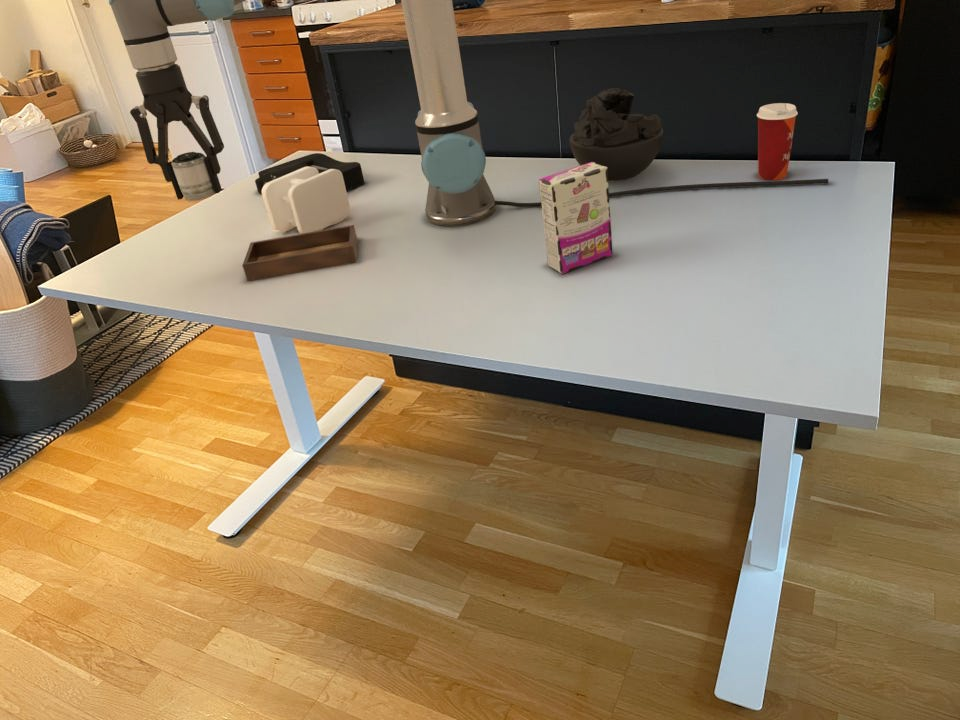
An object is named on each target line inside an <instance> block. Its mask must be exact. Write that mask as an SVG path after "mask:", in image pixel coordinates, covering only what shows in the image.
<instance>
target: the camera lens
mask: <svg viewBox="0 0 960 720" xmlns="http://www.w3.org/2000/svg"><path fill="white" fill-rule="evenodd" d="M206 156H207V155H206V154H205V153H204V154H203V152H196V151H188V152H184V153H180V154H178V155H177V156H175V157H174V158H173V159H172V160H171V161H172V163H171V165H172V167H173V170H174V173H175V176H176V179H177V182H178V184H179V187H180V190H181V192H182V194H183V196H184V197H183V198H184V200H185V201H188V202H195V201H196V202H197V201H201V200H206V199H209V198H210V197H212V196H214V195H215V194H216V193H215V192H214V189H213V186H212V183H211V180H210V177H209V174H208V170H207V167H206V164H205V161H204V159H205V157H206Z"/></svg>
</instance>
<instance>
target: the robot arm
mask: <svg viewBox="0 0 960 720" xmlns="http://www.w3.org/2000/svg"><path fill="white" fill-rule="evenodd" d="M245 1H247V0H108V4H109V6H110V8H111V10H112V11H111V12H112V14H113V16H114V19H115V21H116V24H117V26H118V29H119V32H120V34H121V37H122V39H123V43H124V46H125V50H126V52H127V55H128V58H129V61H130V64H131V67H132V69H134V70H137V71H136V74H135V77H136V80H137V83H138V86H139V88H140V92H141V94H142V97H143V100H142V101H143V102H142V104H141V105H139V106H138V105H136V106H134V107H133V108H132V109H130V111H129V114H130V115H131V117H132V118H133V120H134V122H135V123H136V126H137V129H138V133H139V136H140V139H141V144H142V147H143V150H144V154H145V157H146V161H147V163H148V164H150V165H153V164H154V165H158V166H159V167H160V168H161V172H162V174H163V177H164V180H165V182H166V183H170V182H171V184H172V187H173V189H174V192H175V196H176V198H177V200H178V201H179V200H182V199H184V198H185V197H184V196H183V194H182V192H181V190H180V187H179V184H178V182H177V179H176V176H175V173H174V170H173V167H172V165H171V163H172V160H171V161H170V158H169V124H170V123H172V122H181V123H182V125H184V126H185V127H186V128H187V130H188V131H189V132H190V134H191V135H192V137H193V138H194V139H195V141H196V143H197V144H198V145H199V147H200V148H201V150H202V151H203V152H204V155H205V156H206V157H205V159H204V161H205V164H206V167H207V170H208V174H209V177H210V180H211V183H212V186H213V189H214V192H215V194H220V193H221V191H222V186H221V182H220V179H219V176H218V175H219V174H220V173H221V165H220V162H219V159H218V156H217V155H218V154H220V153H222V152H223V150H224V148H225V145H224V142H223V139H222V137H221V134H220V132H219V130H218V127H217V125H216V122H215V119H214V116H213V114H212V112H211V109H210V98H209V96H208V95H206V94H205V95H202V96H199V95H193V94H192V93H191V92H190V91H189V89H188V87H187V84H186V80H185V78H184V75H183V72H182V68H181V66H180V65H179V64H178V63H176V62H177V61H178V56H177V54H176V50H175V48H174V45H173V44H174V43H173V40H172V38H171V35H170V32H169V30H168V28H169V27H175V26H178V25H185V24H186V25H187V24H193V23H194V24H195V23H200V22H208V21H211V22H215V21H217V20H221V19H225V18H229V17H232V15H233V14H234V12H235V6H238V5H239V4H242V3H243V2H245ZM400 1H401V8H402V13H403V18H404V23H405V24H404V25H405V30H406V34H407V39H408V45H409V51H410V57H411V61H412V67H413V73H414V78H415V84H416V88H417V95H418V100H419V106H420V110H419V111H418V112H417V117H416V119H415V121H414V124H415V129H416V134H417V141H418V145H419V150H420V157H421V160H420V161H421V162H420V166H421V172H422V174H423V176H424V177H425V179H426V180H427V182H428V186H427V187H428V188H427V194H426V200H425V201H426V202H425V208H424V212H425V217H426V220H427V222H429V223H430V224H433V225H435V226H440V227H441V226H442V227H459V226H460V227H461V226H466V225H472V224H474V223H478V222H481V221H483V220H485V219H487V218H489V217H491V216H492V215H493V214H494V213H495V212H496V209H497V206H509V207H516V208H536V207H537V208H538V207H542V205H541V201H539V202H515V201H505V200H496V197H495V195H494V194H493V192H492V190H491V187H490V186H489V183H488V181H487V180H486V177H485V175H484V172H485V169H486V164H487V158H486V153H485V151H484V149H483V143H482V137H481V128H480V123H479V117H478V116H479V115H478V110H477V109H475V106H474V104H473V103H472V102H470V101H468V98H467V97H468V96H467V91H466V90H467V89H466V84H465V78H464V71H463V63H462V57H461V51H460V50H461V49H460V44H459V37H458V32H457V30H458V29H457V25H456V17H455V11H454V4H453V0H400ZM192 104H194V105H195V108H196V109H197V110H199V113H200V116H201V118H202V121H203V123H204V126H205V128H206V131H207V134H208V136H209V138H210V140H209V139H208V137H207V136H206V134H205V133H204V131H203V130H202V128H201V127H200V125H199V124H198V123H197V121H196V120H195V118H194V115H193V114H192V113H191V111H190V109H191V106H192ZM147 112H148V113H150V114H151V115H152V116H154V117H155V118H156V128H157V150H156V147H155V143H154V140H153V136H152V133H151V129H150V124H149V121H148V118H147V117H148V113H147ZM210 141H211V142H210ZM815 184H816V185H817V184H829V178H815V179H813V178H812V179H795V180H793V179H792V180H764V181H741V182H739V181H738V182H716V183H715V182H713V183H697V184H682V185H681V184H680V185H669V186H657V187H646V188H638V189H637V188H636V189H629V190H628V189H627V190H621V191H614V192H609V198H612V197H619V196H620V197H621V196H628V195H629V196H630V195H636V194H637V195H638V194H645V193H655V192H657V193H658V192H667V191H679V190H680V191H681V190H693V189H695V190H697V189H713V188H738V187H740V188H741V187H763V186H764V187H767V186H768V187H769V186H772V187H773V186H795V185H796V186H797V185H815Z"/></svg>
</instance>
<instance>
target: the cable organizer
mask: <svg viewBox="0 0 960 720" xmlns="http://www.w3.org/2000/svg"><path fill="white" fill-rule="evenodd" d="M261 196H262V200H263V203H264V206H265V209H266V214H267V216H268V219H269V222H270V227H271V228H272V229H273V230H274V231H277V232H279V231H280V232H285V231H286V232H289V231H291V230H293V229H295V228H297V231H298V233H299V234H303V233H309V232H315V231H320V230H324V229H325V228H327V227H329V226H333V225H334V226H335V225H337V224H339V223H341V222H343V221H344V220H345V218H347V217H348V216H349V214H350V212H351V205H350V200H349V195H348V191H346V188H345V183H344V179H343V175H342V173H341V171H339V170H337V169H329V170H327V171H324V172H322V173H320V174H319V172H318V170H317V169H316V168H314V167H303V168H301V169H299V170H296V171H294V172H291V173H289V174H287V175H284V176H282V177H280V178H277V179H275V180H272V181H270V182H268V183H266V184H265V185H264V186H263V188H262V194H261Z"/></svg>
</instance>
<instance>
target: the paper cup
mask: <svg viewBox="0 0 960 720" xmlns="http://www.w3.org/2000/svg"><path fill="white" fill-rule="evenodd" d="M798 114H799V112H798V111H797V106H796V105H795V104H792V103H787V102H785V103H784V102H777V103H776V102H775V103H769V104H765V105H762V106H760V107H759V109H758V112H757V113H756V117H757V132H758V133H757V136H758V137H757V174H758V175H757V176H758V178H759V179H760V180H764V181H781V180H784V179H785V178H786V177H787V175H788V170H789V165H790V158H791V152H792V145H793V138H794V131H795V124H796V118H797V116H798Z"/></svg>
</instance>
